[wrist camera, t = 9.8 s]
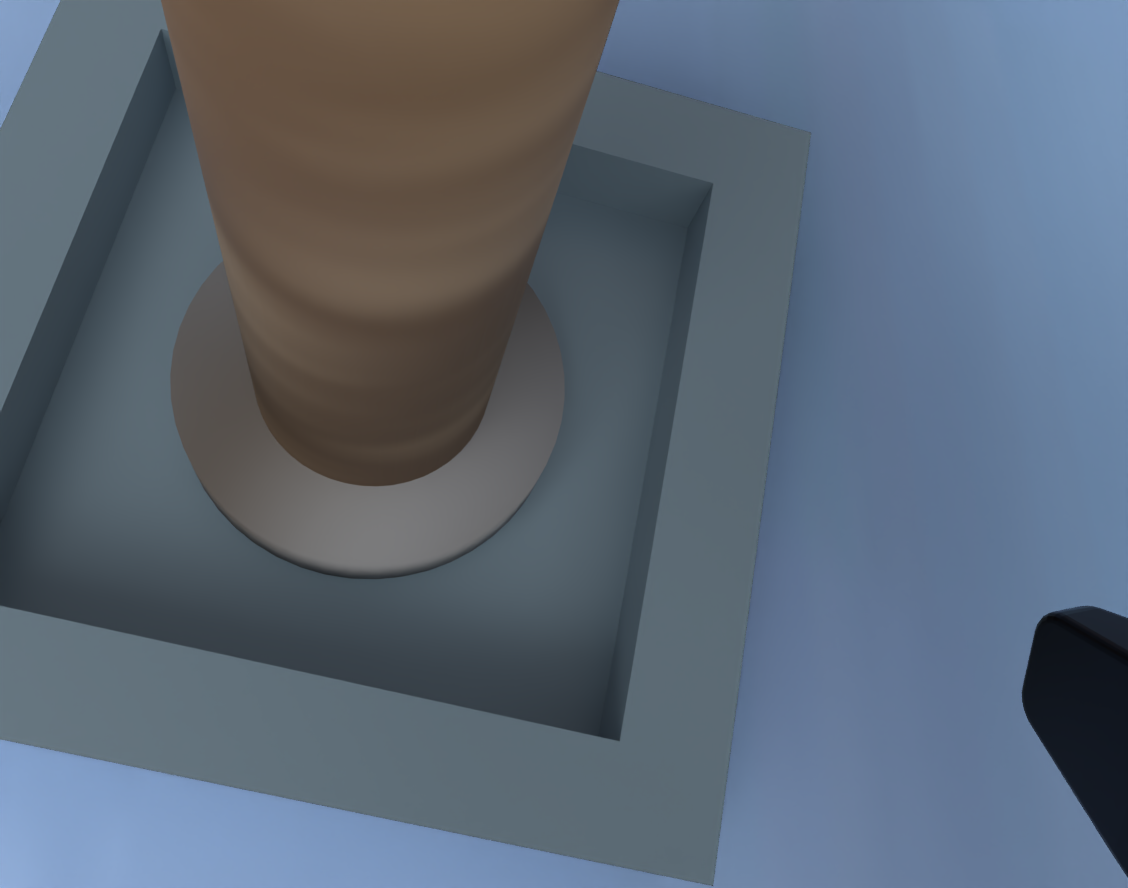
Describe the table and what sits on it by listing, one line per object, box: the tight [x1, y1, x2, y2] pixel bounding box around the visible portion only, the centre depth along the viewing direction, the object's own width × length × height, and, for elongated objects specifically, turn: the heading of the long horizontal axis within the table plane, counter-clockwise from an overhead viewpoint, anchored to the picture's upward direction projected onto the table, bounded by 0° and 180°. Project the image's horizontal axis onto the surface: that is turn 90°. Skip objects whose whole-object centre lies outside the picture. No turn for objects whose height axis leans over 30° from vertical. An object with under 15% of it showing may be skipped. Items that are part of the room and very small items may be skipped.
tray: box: [0, 0, 811, 886], centre depth 17 cm, size 13×13×2 cm
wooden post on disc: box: [161, 0, 619, 579], centre depth 11 cm, size 6×6×13 cm
